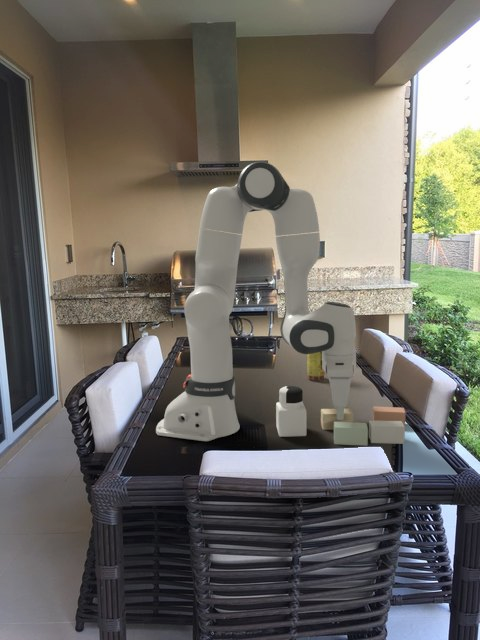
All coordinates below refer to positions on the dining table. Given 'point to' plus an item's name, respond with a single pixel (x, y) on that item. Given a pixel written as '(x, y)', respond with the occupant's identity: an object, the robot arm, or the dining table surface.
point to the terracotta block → (389, 414)
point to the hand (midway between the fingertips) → (339, 413)
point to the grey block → (386, 432)
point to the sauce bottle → (315, 367)
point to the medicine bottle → (291, 412)
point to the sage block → (350, 433)
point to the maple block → (334, 418)
